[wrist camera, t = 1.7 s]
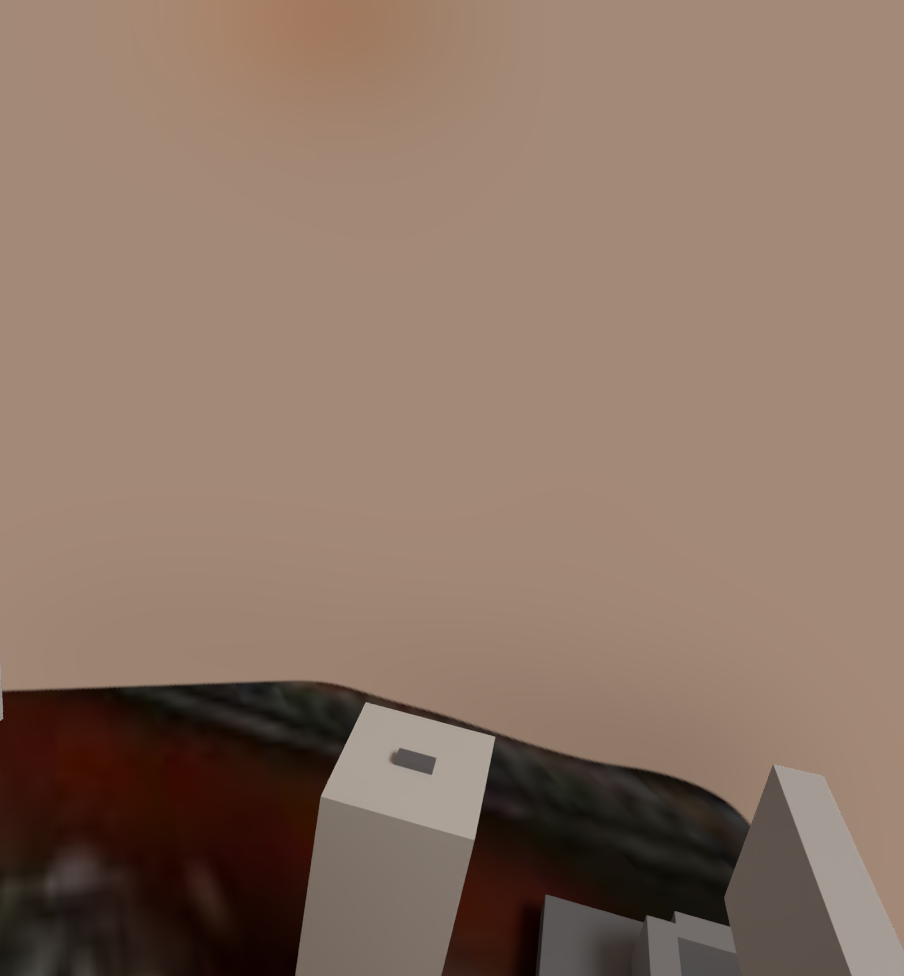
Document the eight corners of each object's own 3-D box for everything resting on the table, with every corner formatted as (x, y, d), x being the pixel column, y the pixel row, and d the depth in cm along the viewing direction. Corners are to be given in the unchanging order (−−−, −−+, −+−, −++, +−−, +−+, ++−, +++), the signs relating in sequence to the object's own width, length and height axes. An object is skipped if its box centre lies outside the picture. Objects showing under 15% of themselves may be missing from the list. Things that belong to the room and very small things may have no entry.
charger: (279, 1083, 26) (321, 789, 22) (323, 965, 31) (366, 696, 26) (404, 1124, 26) (476, 833, 21) (431, 998, 30) (496, 730, 25)
